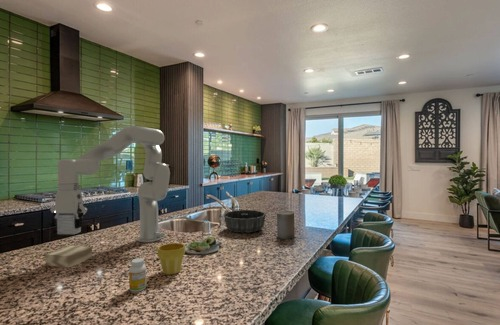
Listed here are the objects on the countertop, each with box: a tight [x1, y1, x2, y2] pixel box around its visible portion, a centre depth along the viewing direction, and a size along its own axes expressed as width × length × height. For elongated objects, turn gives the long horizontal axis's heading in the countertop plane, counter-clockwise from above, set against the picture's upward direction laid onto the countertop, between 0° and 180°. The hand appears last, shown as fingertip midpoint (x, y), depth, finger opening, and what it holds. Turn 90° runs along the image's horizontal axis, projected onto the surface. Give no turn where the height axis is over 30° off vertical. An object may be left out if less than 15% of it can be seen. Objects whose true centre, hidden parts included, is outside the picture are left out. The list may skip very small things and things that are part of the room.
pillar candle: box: [276, 210, 296, 240], centre depth 156 cm, size 10×10×15 cm
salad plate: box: [185, 236, 223, 256], centre depth 135 cm, size 19×18×5 cm
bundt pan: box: [223, 209, 267, 234], centre depth 173 cm, size 26×26×10 cm
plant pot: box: [157, 242, 186, 275], centre depth 109 cm, size 10×10×10 cm
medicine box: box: [56, 213, 82, 235], centre depth 121 cm, size 8×4×9 cm, turn 84°
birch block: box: [45, 245, 93, 269], centre depth 121 cm, size 12×12×5 cm
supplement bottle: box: [128, 257, 147, 293], centre depth 95 cm, size 5×5×10 cm
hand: (69, 227), depth 121 cm, fingers closed on medicine box, 8 cm apart
